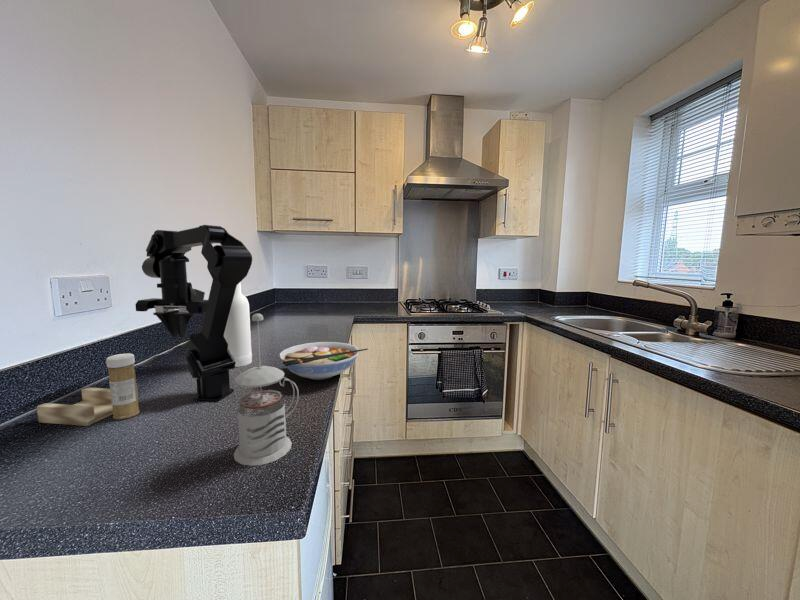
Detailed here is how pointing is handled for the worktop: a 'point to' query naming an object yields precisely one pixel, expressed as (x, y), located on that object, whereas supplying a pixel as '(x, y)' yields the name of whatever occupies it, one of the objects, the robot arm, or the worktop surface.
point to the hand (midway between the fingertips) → (178, 337)
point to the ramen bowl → (319, 359)
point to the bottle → (239, 329)
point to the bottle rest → (79, 409)
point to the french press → (262, 415)
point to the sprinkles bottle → (123, 385)
